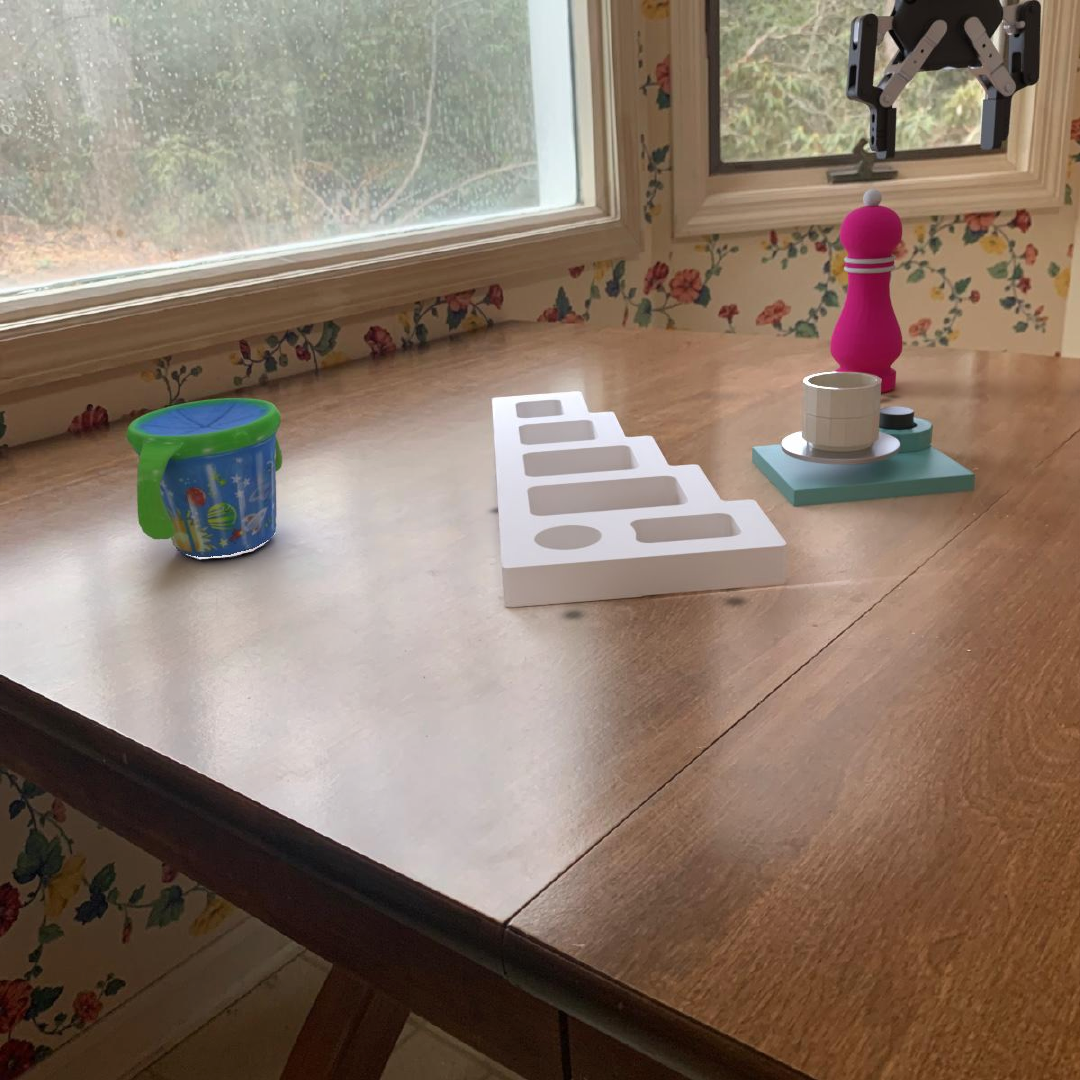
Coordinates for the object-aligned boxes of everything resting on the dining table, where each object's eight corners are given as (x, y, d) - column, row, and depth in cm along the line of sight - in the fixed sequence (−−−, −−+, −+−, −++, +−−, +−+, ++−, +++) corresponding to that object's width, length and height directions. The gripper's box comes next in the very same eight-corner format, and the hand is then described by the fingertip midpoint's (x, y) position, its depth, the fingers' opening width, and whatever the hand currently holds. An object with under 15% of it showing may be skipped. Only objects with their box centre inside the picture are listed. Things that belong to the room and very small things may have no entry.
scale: (913, 446, 95) (915, 413, 93) (978, 490, 83) (981, 453, 82) (750, 460, 94) (750, 427, 93) (793, 507, 82) (794, 469, 81)
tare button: (905, 422, 92) (906, 405, 92) (918, 431, 90) (919, 413, 89) (873, 425, 92) (873, 407, 91) (885, 434, 89) (886, 416, 89)
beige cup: (862, 430, 88) (865, 369, 87) (889, 449, 83) (893, 385, 81) (792, 436, 88) (793, 375, 86) (815, 456, 83) (817, 391, 81)
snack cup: (216, 593, 74) (188, 449, 70) (98, 578, 78) (66, 441, 74) (341, 516, 87) (324, 391, 84) (235, 506, 91) (214, 387, 88)
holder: (494, 423, 111) (491, 397, 110) (669, 410, 111) (669, 384, 110) (505, 607, 69) (501, 568, 68) (787, 584, 69) (788, 545, 68)
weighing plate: (874, 427, 90) (874, 423, 90) (918, 458, 82) (919, 453, 82) (767, 437, 90) (767, 432, 89) (801, 469, 81) (801, 464, 81)
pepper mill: (915, 386, 114) (927, 186, 107) (868, 399, 110) (877, 192, 103) (860, 376, 120) (868, 185, 112) (814, 388, 116) (819, 192, 109)
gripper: (874, -81, 76) (867, 164, 82) (1071, -97, 77) (1050, 147, 83) (837, -64, 83) (833, 160, 89) (1018, -79, 84) (1003, 144, 90)
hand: (938, 153), depth 86 cm, fingers open, 8 cm apart
